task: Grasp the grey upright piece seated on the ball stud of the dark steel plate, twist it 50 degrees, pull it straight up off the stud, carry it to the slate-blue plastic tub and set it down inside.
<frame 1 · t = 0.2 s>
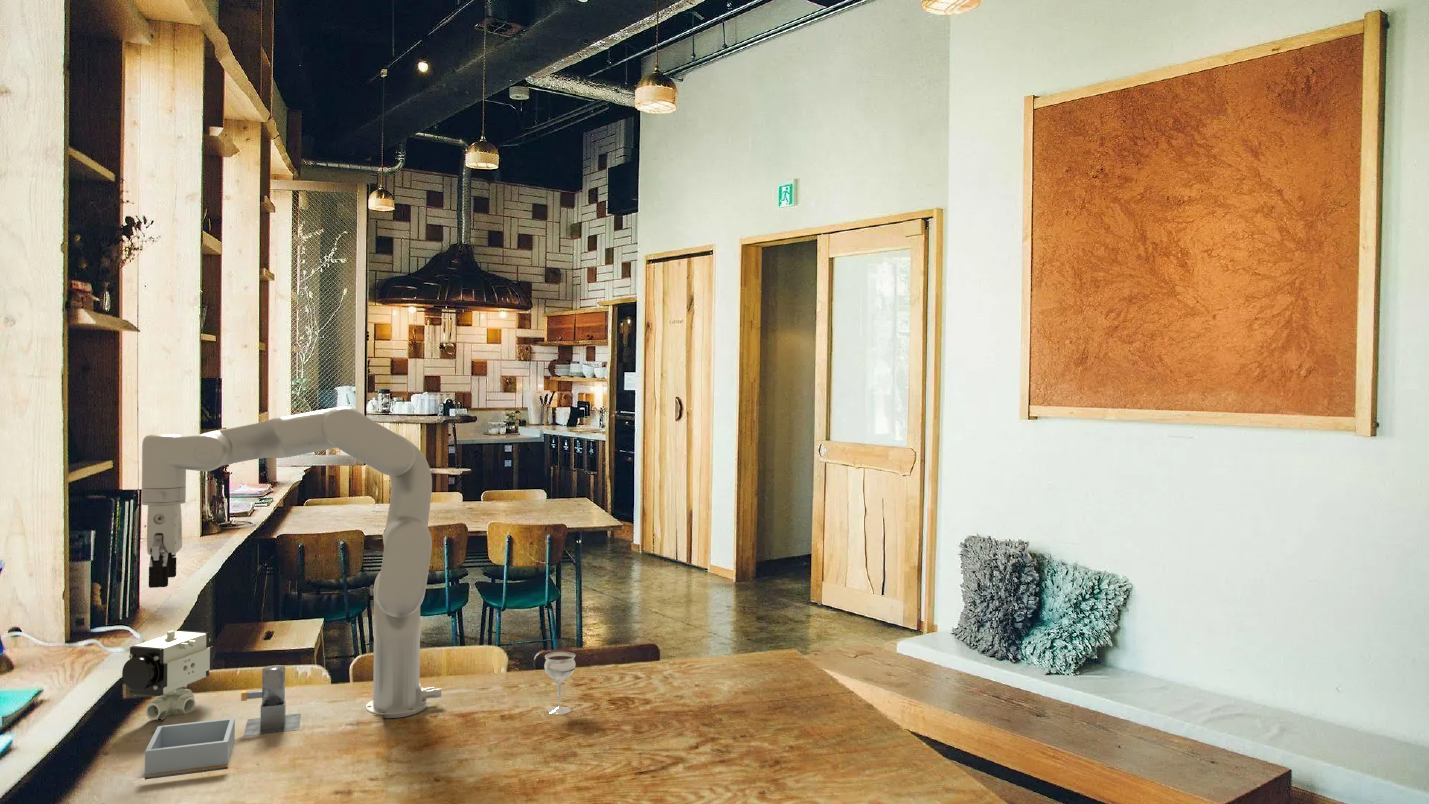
hand: (162, 582, 182), 31 cm above the table, tool pointing down, fingers open, 9 cm apart
wineglass: (559, 711, 200), on the table
grey upright piece: (273, 724, 186), point 1 cm above the table, touching stud plate
tub: (191, 760, 170), on the table
stud plate: (273, 729, 186), on the table
ball valve: (172, 716, 193), on the table
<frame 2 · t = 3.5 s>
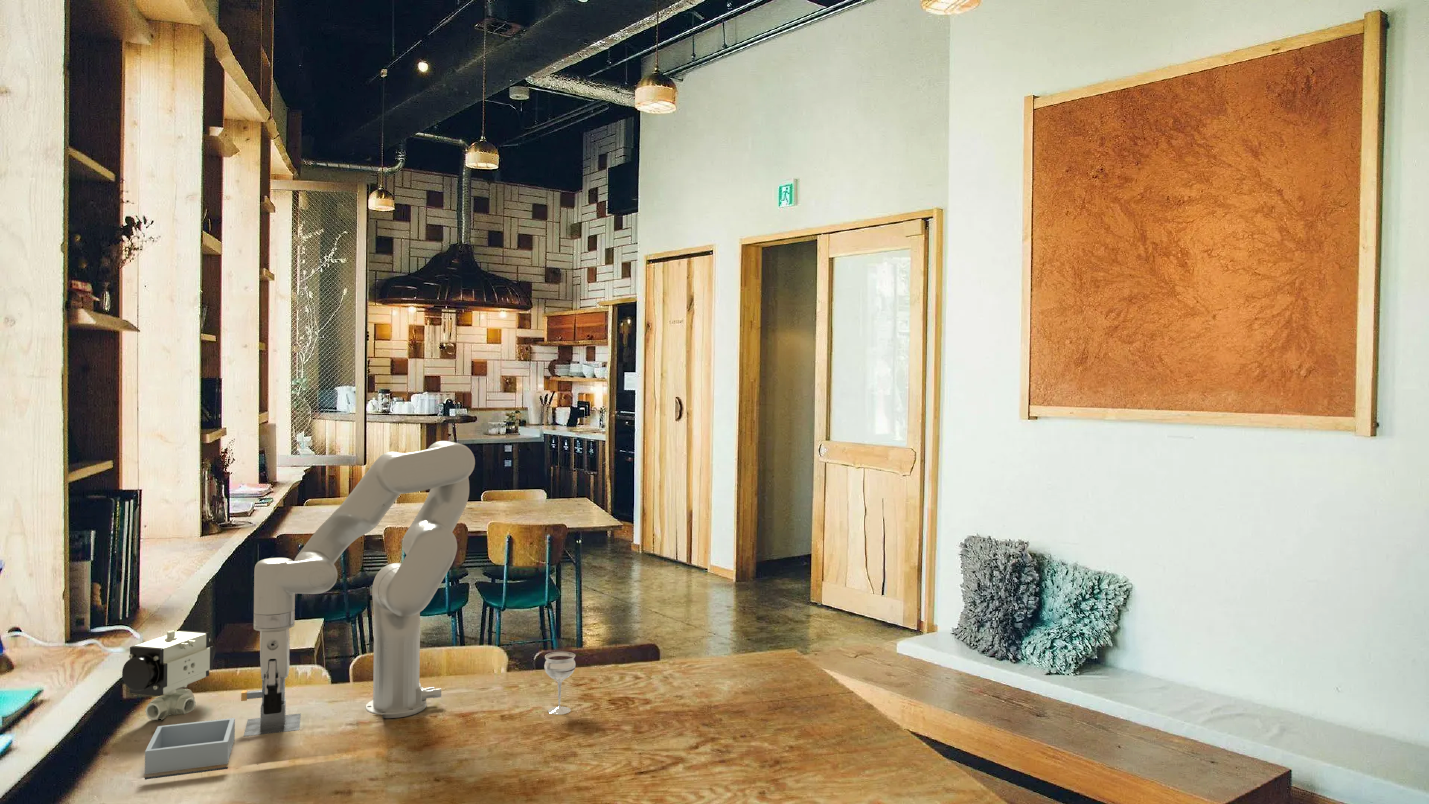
hand: (273, 708, 186), 4 cm above the table, tool pointing down, fingers closed on grey upright piece, 4 cm apart
grey upright piece: (273, 724, 186), point 1 cm above the table, touching gripper, stud plate
everything else where it was.
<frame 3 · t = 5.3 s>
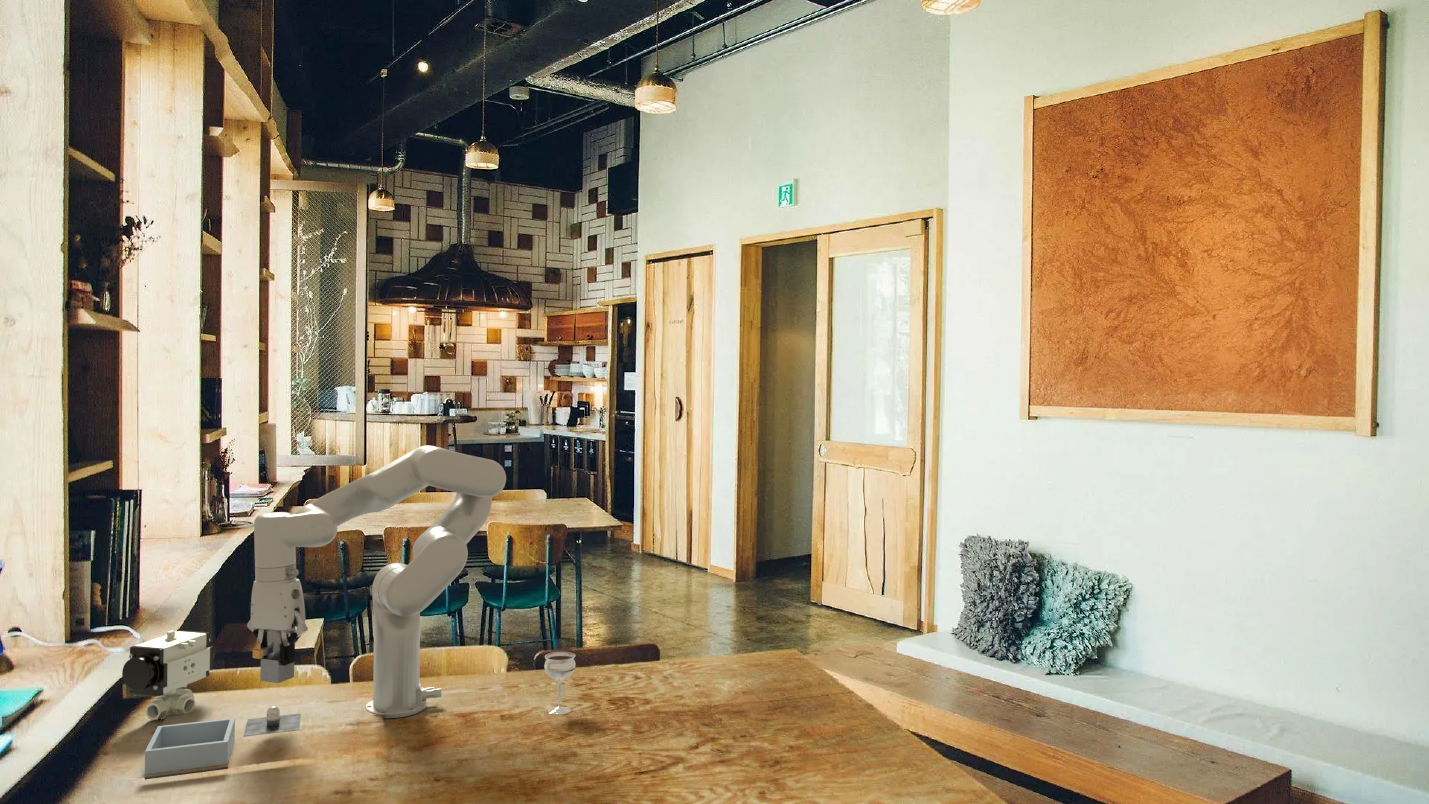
hand: (278, 661, 186), 14 cm above the table, tool pointing down, fingers closed on grey upright piece, 4 cm apart
grey upright piece: (277, 679, 186), point 10 cm above the table, touching gripper
everything else where it was.
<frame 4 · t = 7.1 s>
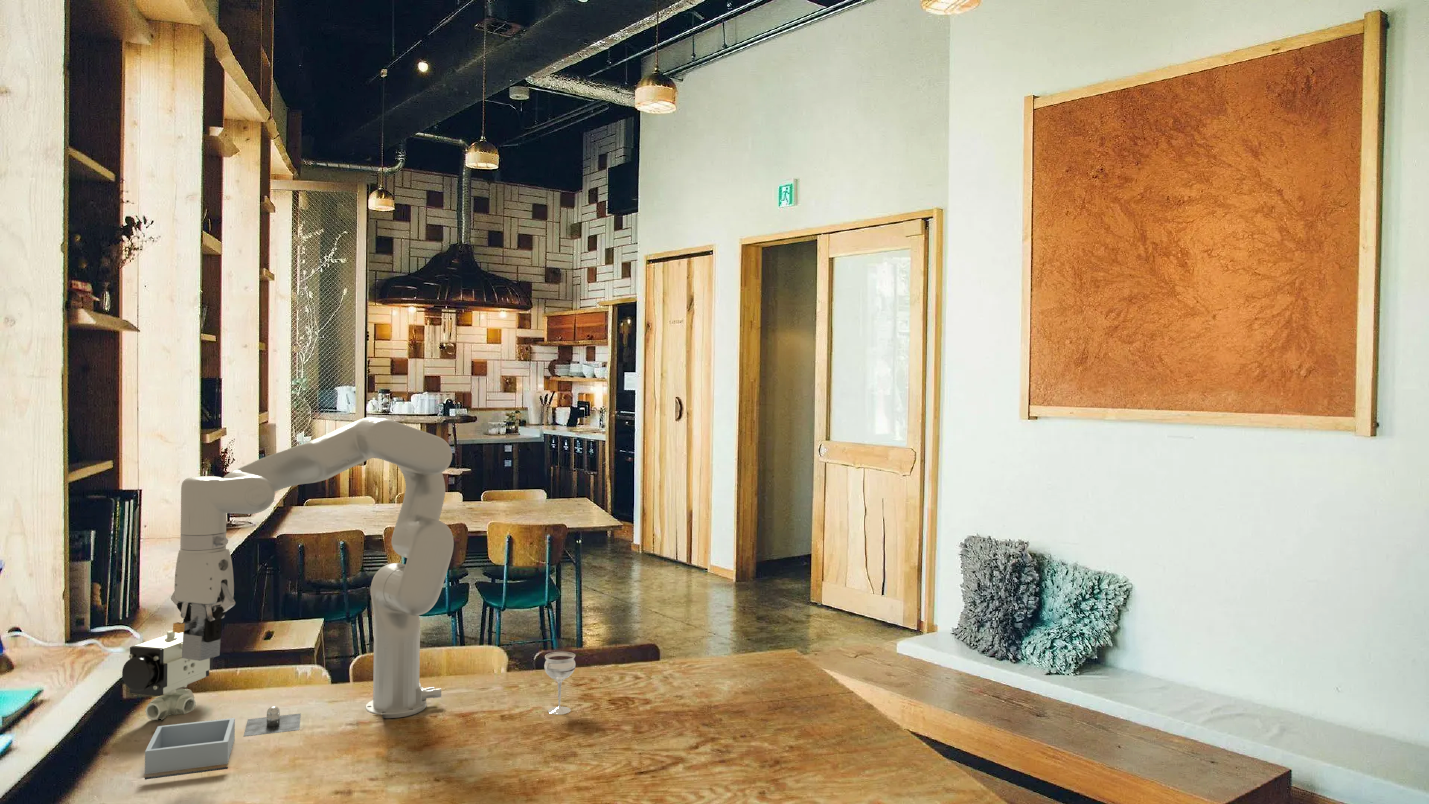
hand: (202, 638, 172), 22 cm above the table, tool pointing down, fingers closed on grey upright piece, 4 cm apart
grey upright piece: (200, 656, 172), point 19 cm above the table, touching gripper
everything else where it was.
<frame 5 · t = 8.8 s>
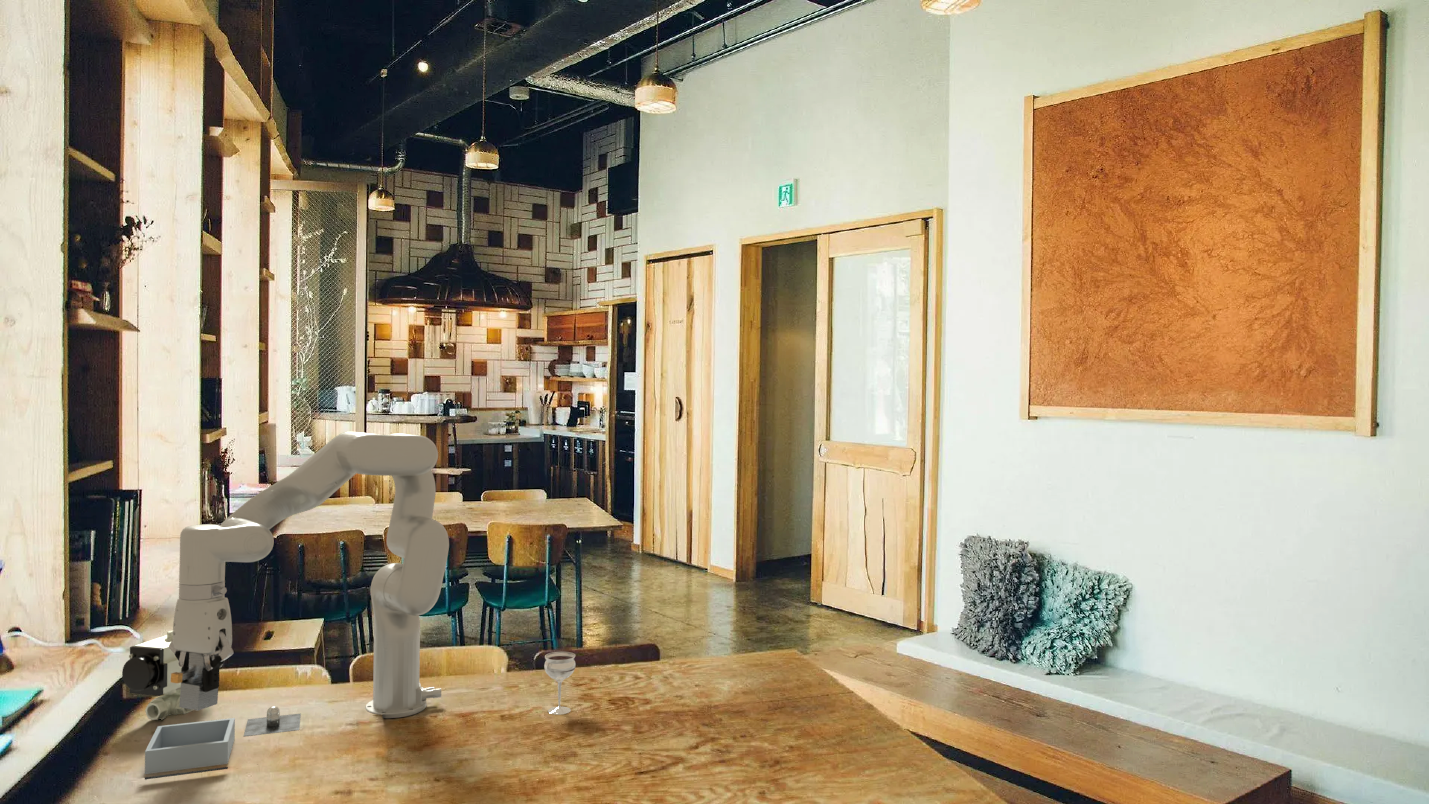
hand: (200, 687, 172), 13 cm above the table, tool pointing down, fingers closed on grey upright piece, 4 cm apart
grey upright piece: (198, 705, 172), point 10 cm above the table, touching gripper
everything else where it was.
when the fingers open (6 cm above the table, at t = 10.6 s): grey upright piece drops 1 cm, resting on tub.
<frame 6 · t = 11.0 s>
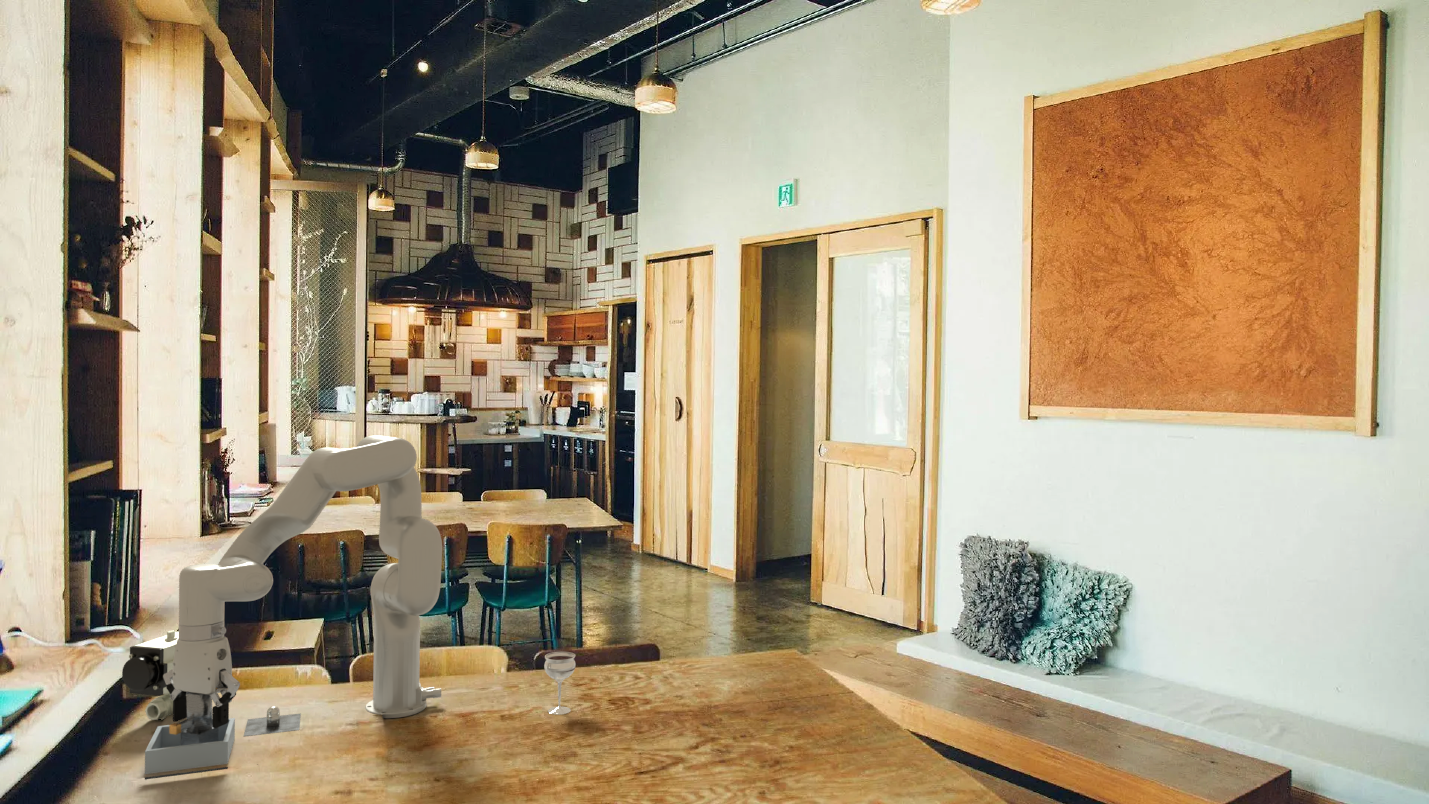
hand: (200, 722, 172), 6 cm above the table, tool pointing down, fingers open, 9 cm apart
grey upright piece: (199, 752, 172), point 1 cm above the table, touching tub
everything else where it was.
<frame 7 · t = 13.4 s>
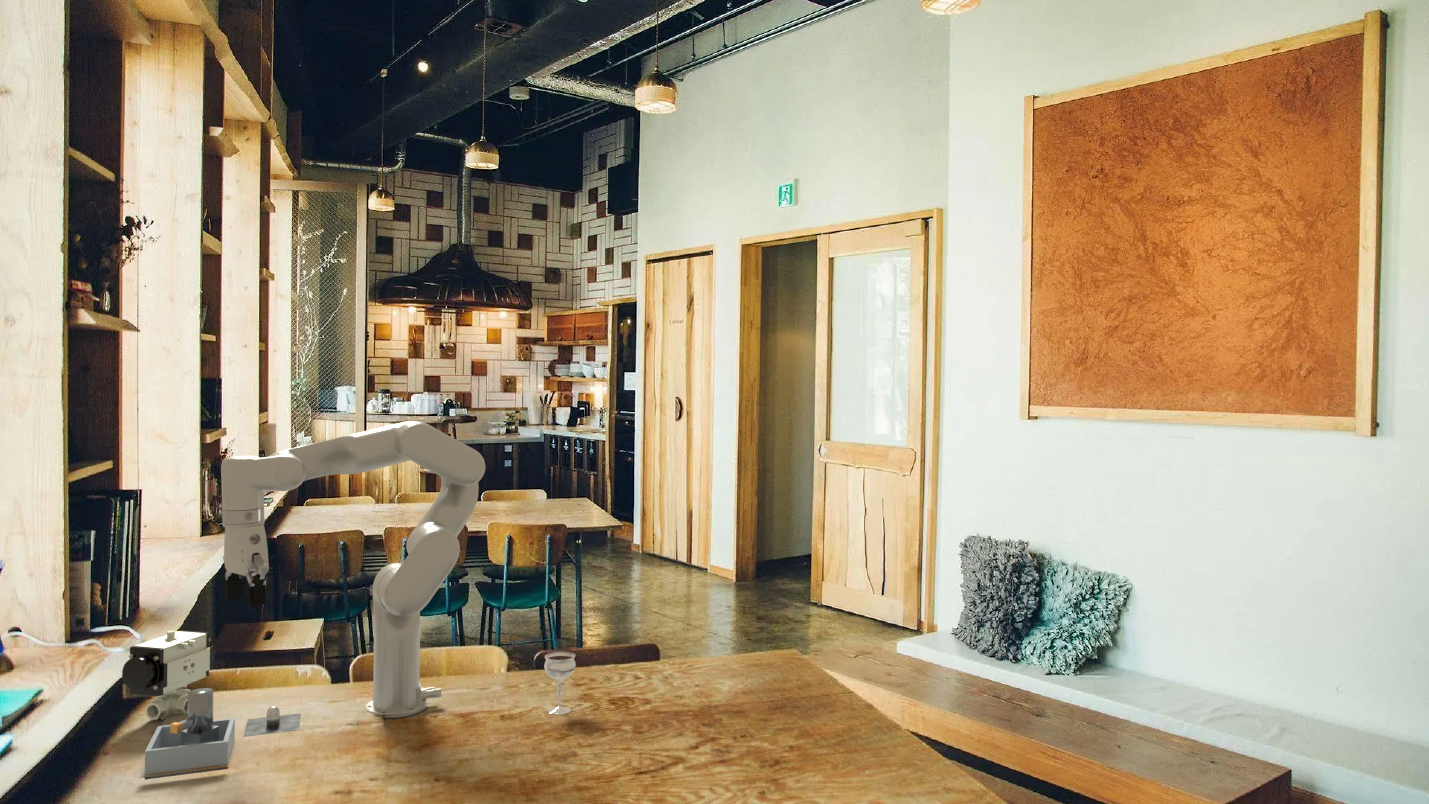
hand: (245, 601, 184), 26 cm above the table, tool pointing down, fingers open, 9 cm apart
nothing on the table moved.
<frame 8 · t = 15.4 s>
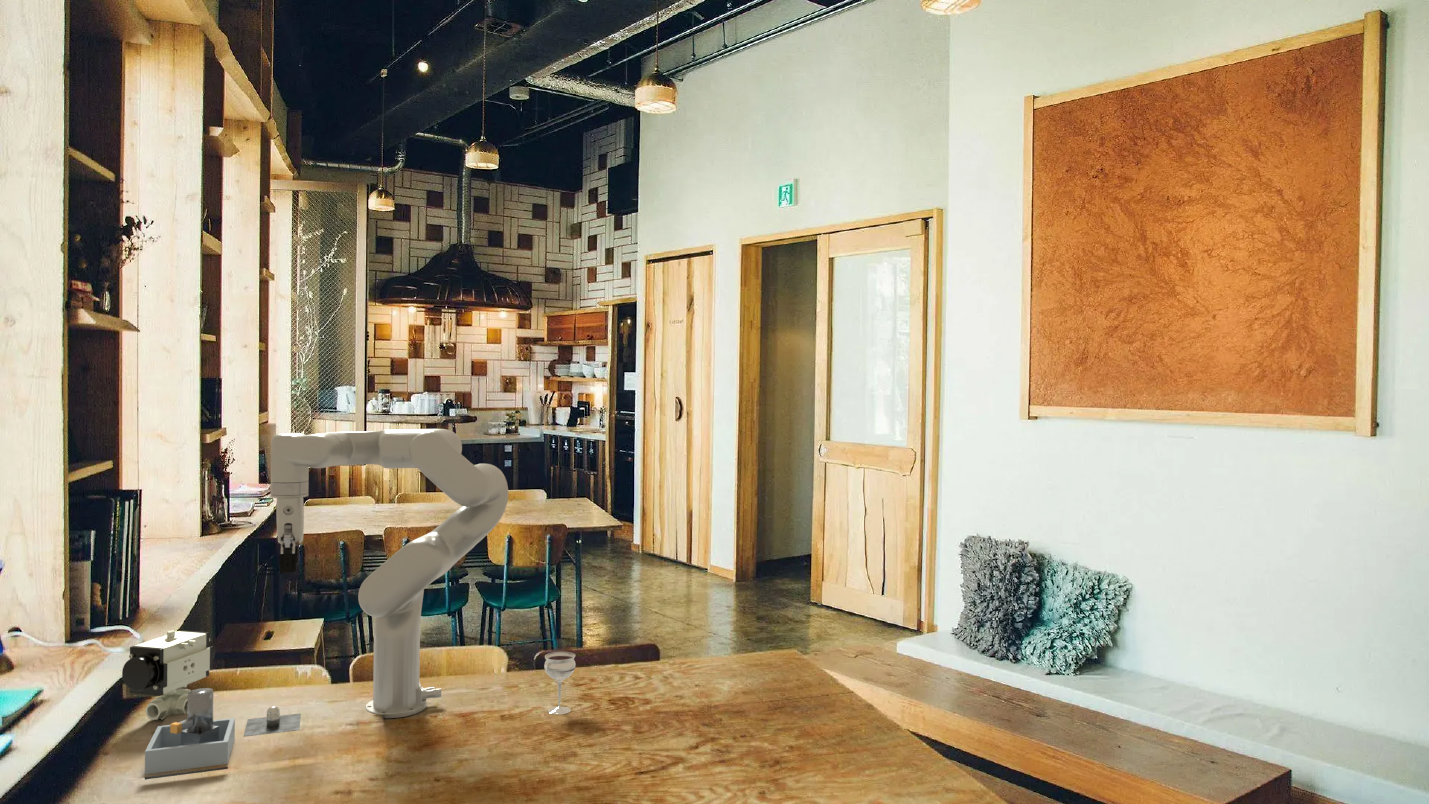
hand: (288, 567, 200), 30 cm above the table, tool pointing down, fingers open, 9 cm apart
nothing on the table moved.
at the end: grey upright piece inside the target area on the tub (1.8 cm from its centre), point 0.8 cm above the tub's base; the gripper is holding nothing; grey upright piece moved 15.9 cm from its start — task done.
